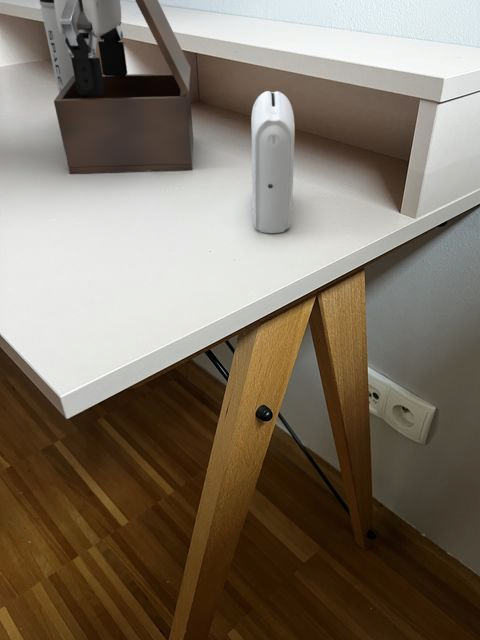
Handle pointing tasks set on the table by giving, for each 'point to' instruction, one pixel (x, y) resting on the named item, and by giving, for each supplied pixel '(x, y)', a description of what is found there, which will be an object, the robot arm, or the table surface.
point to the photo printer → (272, 162)
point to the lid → (166, 42)
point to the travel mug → (57, 45)
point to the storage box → (127, 125)
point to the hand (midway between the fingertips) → (104, 84)
